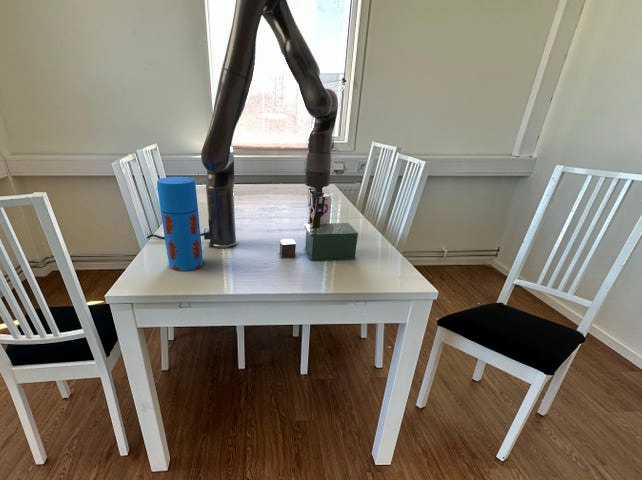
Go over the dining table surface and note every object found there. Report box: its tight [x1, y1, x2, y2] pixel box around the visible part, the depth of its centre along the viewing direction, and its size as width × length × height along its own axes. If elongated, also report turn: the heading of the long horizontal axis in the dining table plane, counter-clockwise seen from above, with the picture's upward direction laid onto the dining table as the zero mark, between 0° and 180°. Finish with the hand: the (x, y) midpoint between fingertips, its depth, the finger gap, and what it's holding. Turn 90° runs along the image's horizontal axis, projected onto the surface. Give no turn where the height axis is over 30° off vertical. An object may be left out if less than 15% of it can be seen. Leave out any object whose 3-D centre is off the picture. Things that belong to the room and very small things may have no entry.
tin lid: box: [303, 212, 359, 237], centre depth 129 cm, size 15×12×6 cm
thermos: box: [156, 176, 204, 272], centre depth 119 cm, size 11×11×25 cm
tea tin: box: [304, 229, 359, 262], centre depth 133 cm, size 15×12×8 cm
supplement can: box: [307, 192, 333, 224], centre depth 146 cm, size 8×8×15 cm
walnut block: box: [279, 239, 297, 259], centre depth 132 cm, size 5×5×5 cm
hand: (314, 225), depth 129 cm, fingers closed on tin lid, 5 cm apart
